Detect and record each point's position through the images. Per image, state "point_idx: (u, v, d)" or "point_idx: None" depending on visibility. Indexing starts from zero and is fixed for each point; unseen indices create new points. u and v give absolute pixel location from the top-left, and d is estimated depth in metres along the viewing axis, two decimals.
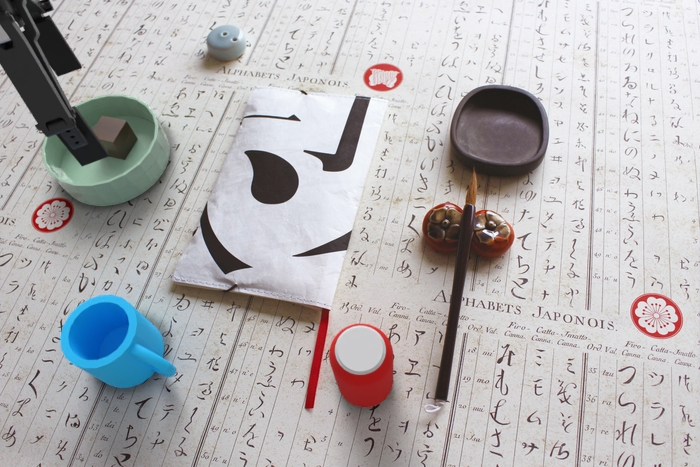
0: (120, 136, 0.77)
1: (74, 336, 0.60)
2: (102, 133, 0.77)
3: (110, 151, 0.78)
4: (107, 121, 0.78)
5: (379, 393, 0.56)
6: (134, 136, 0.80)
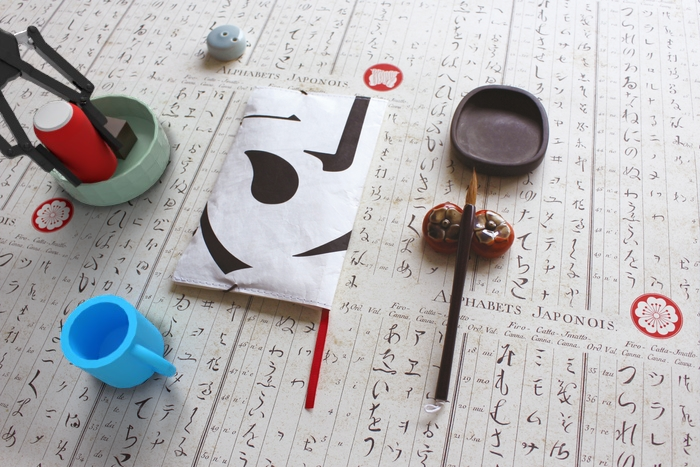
0: (120, 136, 0.77)
1: (74, 336, 0.60)
2: None
3: None
4: None
5: (86, 162, 0.71)
6: (134, 136, 0.80)
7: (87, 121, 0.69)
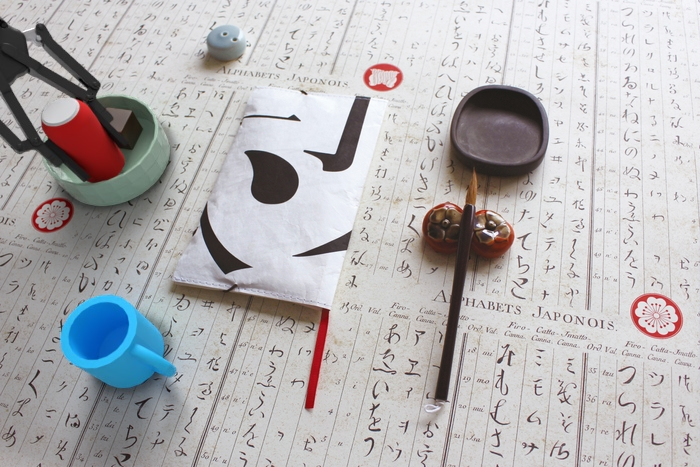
0: (127, 126, 0.78)
1: (74, 336, 0.60)
2: None
3: None
4: (113, 112, 0.79)
5: (93, 159, 0.72)
6: (140, 126, 0.81)
7: (94, 117, 0.70)
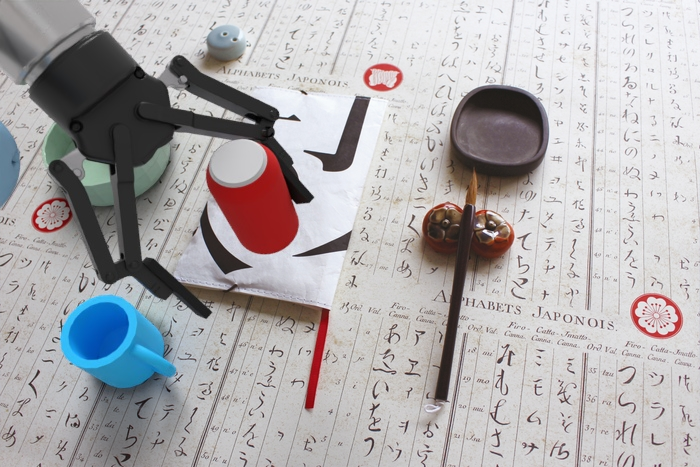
0: None
1: (74, 336, 0.60)
2: None
3: None
4: None
5: (273, 226, 0.49)
6: None
7: None
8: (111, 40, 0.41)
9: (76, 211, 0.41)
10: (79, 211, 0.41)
